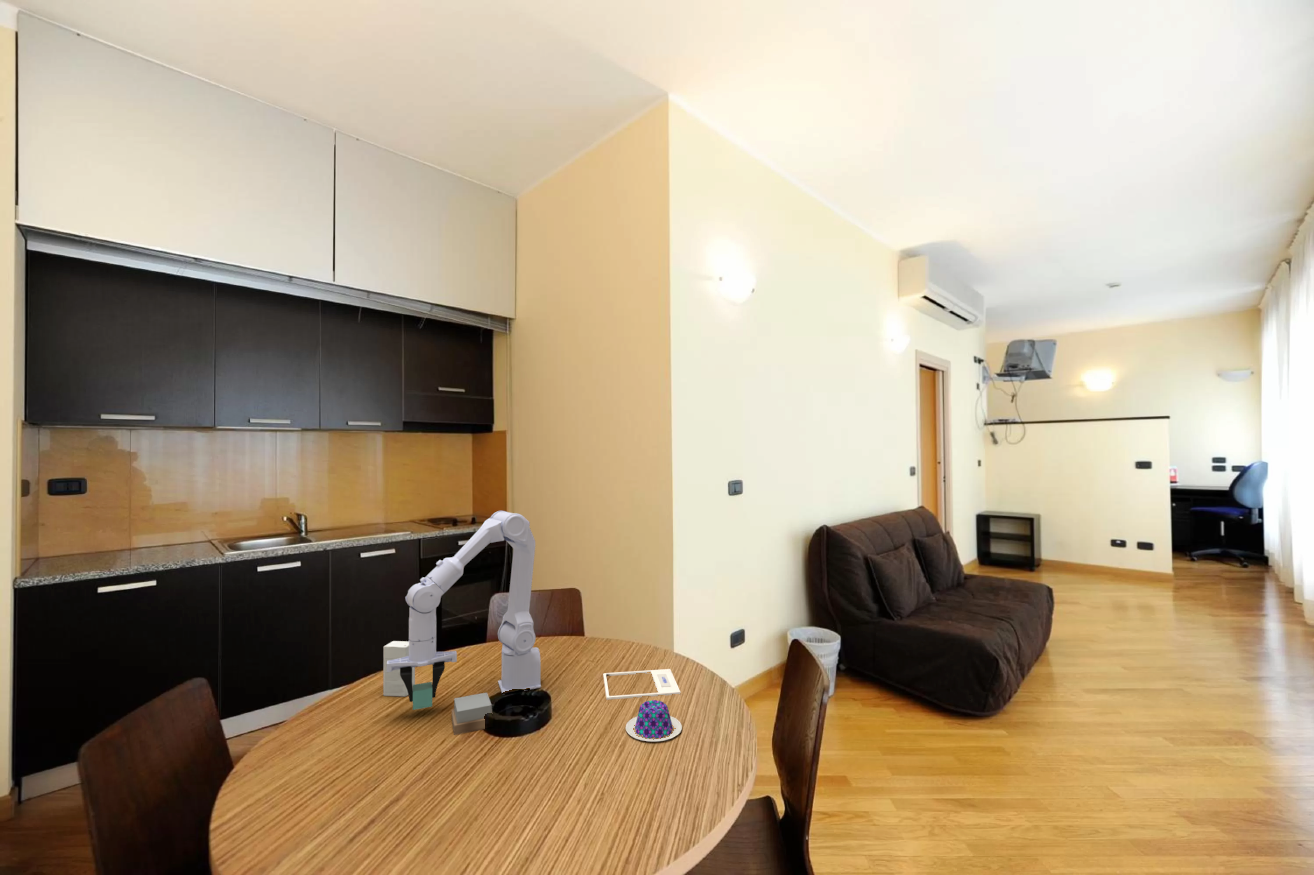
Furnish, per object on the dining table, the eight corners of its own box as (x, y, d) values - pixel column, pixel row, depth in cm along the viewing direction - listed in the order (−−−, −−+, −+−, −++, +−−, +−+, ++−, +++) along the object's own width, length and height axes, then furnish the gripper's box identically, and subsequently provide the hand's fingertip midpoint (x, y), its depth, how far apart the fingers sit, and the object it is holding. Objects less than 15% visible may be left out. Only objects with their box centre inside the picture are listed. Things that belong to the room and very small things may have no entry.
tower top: (486, 703, 125) (486, 692, 125) (491, 716, 118) (491, 705, 118) (454, 709, 122) (454, 698, 122) (457, 723, 115) (457, 711, 115)
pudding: (616, 724, 119) (616, 700, 119) (664, 712, 125) (664, 688, 125) (641, 750, 109) (641, 724, 109) (692, 735, 114) (692, 710, 114)
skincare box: (415, 689, 137) (415, 641, 137) (406, 697, 132) (406, 647, 133) (392, 688, 137) (392, 640, 138) (382, 696, 133) (382, 646, 133)
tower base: (489, 713, 125) (489, 702, 125) (493, 729, 118) (493, 718, 118) (451, 720, 122) (451, 709, 122) (454, 737, 114) (454, 725, 114)
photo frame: (680, 691, 133) (606, 696, 131) (680, 695, 133) (606, 701, 131) (670, 668, 148) (603, 672, 145) (670, 672, 148) (603, 676, 145)
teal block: (431, 699, 127) (431, 681, 127) (432, 706, 123) (432, 688, 123) (412, 702, 125) (412, 684, 125) (412, 709, 121) (412, 691, 122)
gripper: (386, 647, 118) (385, 711, 118) (457, 638, 124) (457, 698, 123) (387, 637, 124) (387, 698, 124) (455, 629, 130) (455, 686, 130)
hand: (422, 697), depth 124 cm, fingers closed on teal block, 4 cm apart
